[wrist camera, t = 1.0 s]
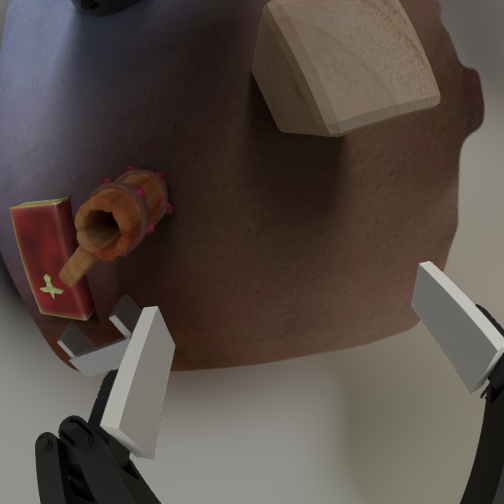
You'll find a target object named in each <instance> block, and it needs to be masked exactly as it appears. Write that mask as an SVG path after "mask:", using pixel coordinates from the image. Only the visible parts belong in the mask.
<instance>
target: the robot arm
mask: <svg viewBox="0 0 504 504" xmlns="http://www.w3.org/2000/svg"><path fill="white" fill-rule="evenodd" d="M71 1H72V3H73V5H74V6H75V7H76V8H77V9H78V10H80V11H82V12H84V13H85V14H87V15H91V16H104V15H109V14H113V13H116V12H119V11H121V10H124V9H126V8H128V7H130V6H132V5H134V4H135V3H137V2H138V1H140V0H71ZM411 307H412V308H413V310H414V311H415V312H416V314H417V315H418V316H419V318H420V319H421V320H422V321H423V323H424V324H425V326H426V327H427V328H428V330H429V331H430V333H431V334H432V335H433V337H434V338H435V340H436V341H437V343H438V344H439V345H440V347H441V348H442V350H443V351H444V353H445V354H446V356H447V357H448V359H449V360H450V362H451V363H452V365H453V366H454V368H455V369H456V371H457V373H458V374H459V375H460V377H461V379H462V380H463V382H464V384H465V385H466V387H467V389H468V390H469V392H470V394H471V393H472V392H474V391H476V390H477V389H479V388H481V387H482V386H483V384H484V383H485V381H486V380H487V378H488V380H489V381H490V383H489V385H488V386H487V387H486V389H485V390H484V391H483V393H482V394H481V397H480V398H483V396H484V395H485V394H486V392H487V396H486V397H485V399H486V405H485V412H484V418H483V424H482V430H481V435H480V440H479V444H478V448H477V452H476V456H475V460H474V464H473V467H472V471H471V474H470V477H469V480H468V483H467V486H466V489H465V492H464V495H463V497H462V500H461V502H460V504H504V329H503V328H502V327H501V326H500V325H499V324H498V323H497V322H496V320H495V319H494V318H493V317H492V316H491V315H490V314H489V313H488V311H487V310H486V309H484V308H483V307H481V306H480V305H478V304H476V305H474V304H473V303H472V302H471V301H470V300H469V298H467V296H466V295H465V294H464V293H463V292H462V291H461V290H460V289H459V288H458V287H457V286H456V285H455V284H454V283H453V282H451V280H450V279H449V278H447V277H446V276H445V275H444V274H443V273H442V272H441V271H440V270H439V269H438V268H437V267H436V266H435V265H434V264H433V263H432V262H430V261H428V262H423V263H419V266H418V272H417V277H416V283H415V288H414V293H413V297H412V302H411ZM174 350H175V344H174V342H173V340H172V338H171V336H170V333H169V331H168V329H167V327H166V324H165V322H164V320H163V317H162V315H161V313H160V310H159V308H158V306H155V307H145V308H143V311H142V313H141V315H140V318H139V320H138V323H137V325H136V327H135V330H134V332H133V335H132V337H131V340H130V342H129V345H128V347H127V350H126V352H125V355H124V357H123V360H122V363H121V365H120V368H119V370H111V371H110V372H109V373H108V374H107V375H106V377H105V378H104V380H103V382H102V385H101V387H100V389H101V390H99V393H98V395H97V396H98V398H96V401H95V404H94V406H93V410H92V413H91V415H90V418H89V421H88V423H87V422H86V421H85V420H84V419H83V418H81V417H79V416H74V415H73V416H69V417H67V418H66V419H65V420H63V421H62V423H61V424H60V427H59V430H58V431H59V432H58V433H59V437H60V438H57V437H56V436H55V435H54V434H52V433H50V432H45V433H43V434H41V435H40V436H39V437H38V439H37V440H36V444H35V456H36V471H37V480H38V489H39V496H40V502H41V504H161V503H160V501H159V500H158V499H157V497H156V496H155V495H154V493H153V492H152V491H151V489H150V488H149V486H148V485H147V484H146V482H145V480H144V479H143V477H142V476H141V474H140V473H139V471H138V470H137V468H136V467H135V465H134V464H133V462H132V461H131V460H130V459H129V455H130V452H131V453H133V454H134V455H135V456H137V457H142V458H149V459H154V454H155V448H156V442H157V435H158V430H159V424H160V418H161V413H162V407H163V403H164V398H165V392H166V388H167V383H168V378H169V373H170V368H171V364H172V359H173V355H174Z"/></svg>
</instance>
